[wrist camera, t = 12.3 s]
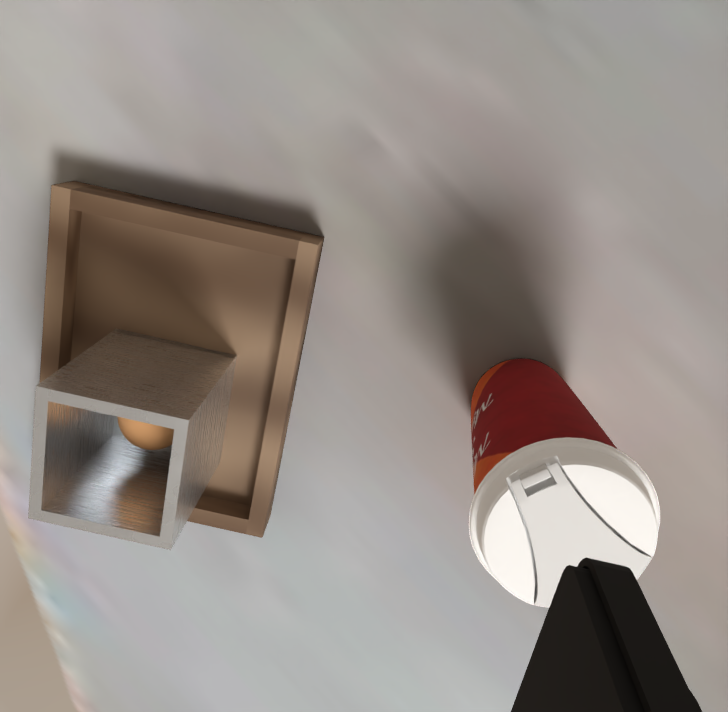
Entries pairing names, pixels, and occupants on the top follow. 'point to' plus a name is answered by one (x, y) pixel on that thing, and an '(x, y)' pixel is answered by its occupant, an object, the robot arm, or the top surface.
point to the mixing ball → (146, 434)
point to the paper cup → (551, 485)
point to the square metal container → (113, 451)
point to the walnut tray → (189, 315)
